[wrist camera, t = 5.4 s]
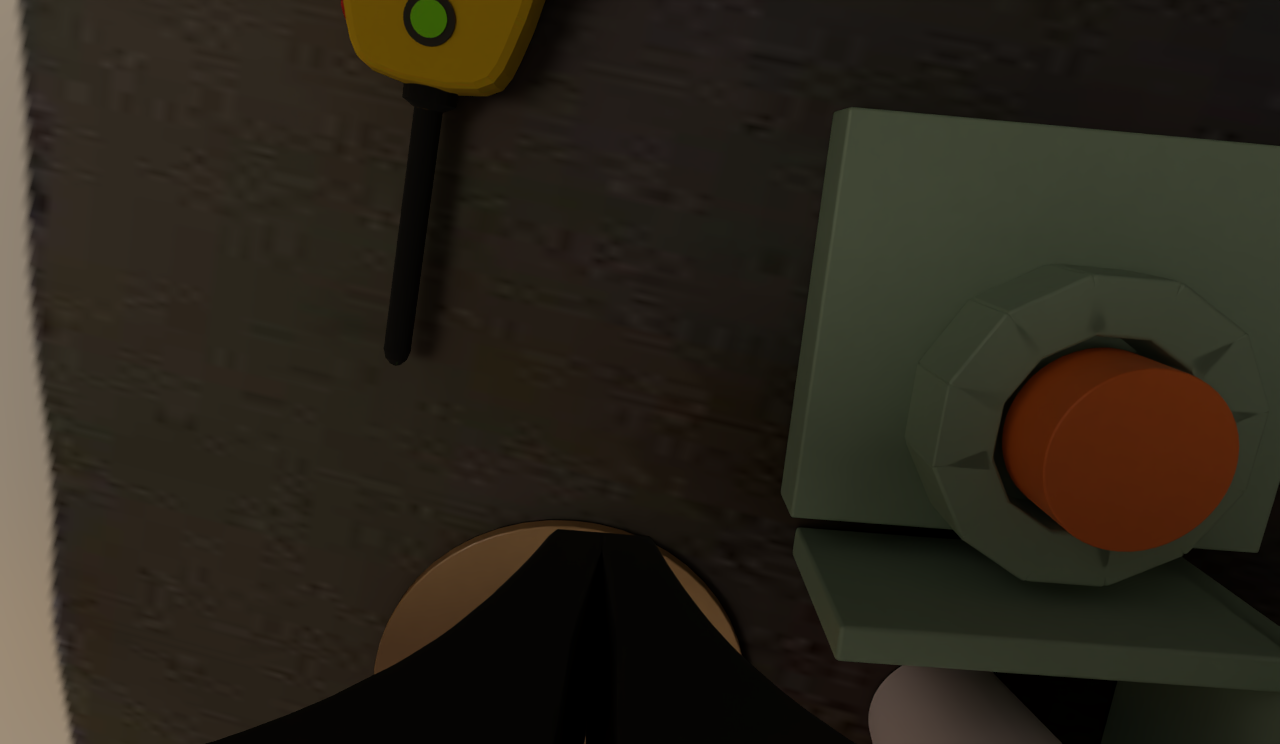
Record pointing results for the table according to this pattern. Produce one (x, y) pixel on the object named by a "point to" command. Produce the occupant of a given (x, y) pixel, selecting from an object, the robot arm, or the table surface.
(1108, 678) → the frame
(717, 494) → the table surface
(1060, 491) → the button
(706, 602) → the coaster
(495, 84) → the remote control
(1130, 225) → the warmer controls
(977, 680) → the smoothie
